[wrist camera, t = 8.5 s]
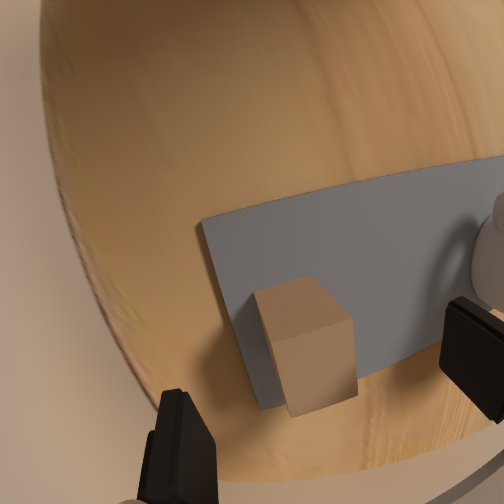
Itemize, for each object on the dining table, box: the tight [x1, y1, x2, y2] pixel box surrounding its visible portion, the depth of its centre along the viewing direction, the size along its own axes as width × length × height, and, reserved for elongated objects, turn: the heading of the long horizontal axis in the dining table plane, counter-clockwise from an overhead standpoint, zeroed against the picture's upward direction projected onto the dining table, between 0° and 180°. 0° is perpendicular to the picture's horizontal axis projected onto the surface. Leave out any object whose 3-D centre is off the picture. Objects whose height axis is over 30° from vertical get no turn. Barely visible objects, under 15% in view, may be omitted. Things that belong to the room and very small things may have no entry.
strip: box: [201, 156, 504, 418], centre depth 13 cm, size 12×26×5 cm, turn 104°
